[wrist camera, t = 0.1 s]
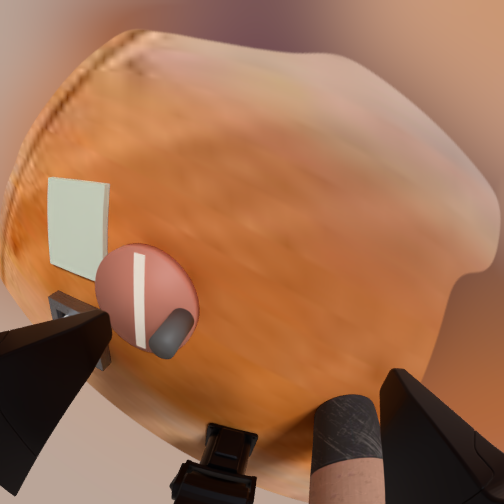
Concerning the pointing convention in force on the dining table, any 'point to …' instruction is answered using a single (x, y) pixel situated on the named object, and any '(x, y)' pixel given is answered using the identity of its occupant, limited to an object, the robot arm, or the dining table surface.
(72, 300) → the dark grey square frame
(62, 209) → the board
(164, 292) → the handwheel
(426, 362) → the dining table surface
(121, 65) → the dining table surface
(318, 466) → the travel mug
